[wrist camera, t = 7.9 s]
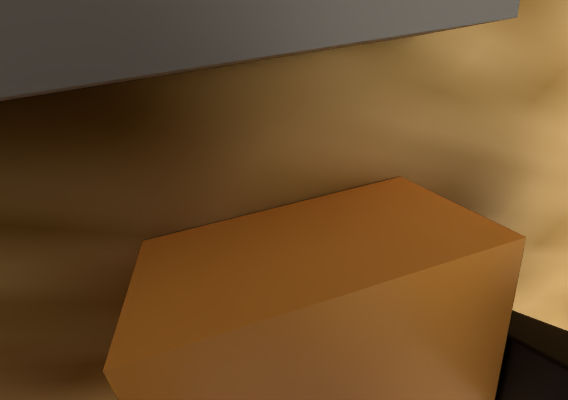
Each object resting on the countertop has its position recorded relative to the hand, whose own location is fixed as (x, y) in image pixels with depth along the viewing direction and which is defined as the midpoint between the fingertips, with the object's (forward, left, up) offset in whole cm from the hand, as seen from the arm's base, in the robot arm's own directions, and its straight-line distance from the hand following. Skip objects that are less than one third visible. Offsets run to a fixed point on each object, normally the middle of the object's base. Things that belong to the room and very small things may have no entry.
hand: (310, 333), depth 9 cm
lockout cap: (0, 0, -1) cm, 1 cm away
